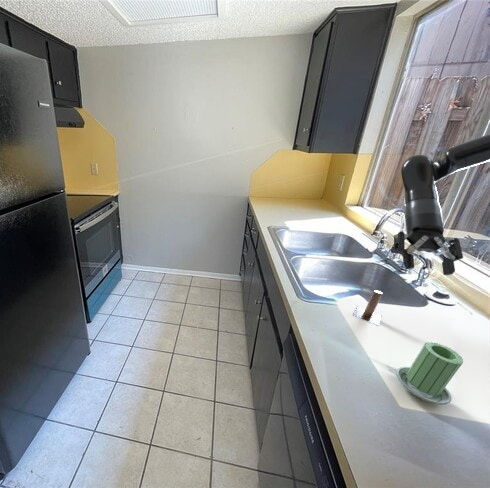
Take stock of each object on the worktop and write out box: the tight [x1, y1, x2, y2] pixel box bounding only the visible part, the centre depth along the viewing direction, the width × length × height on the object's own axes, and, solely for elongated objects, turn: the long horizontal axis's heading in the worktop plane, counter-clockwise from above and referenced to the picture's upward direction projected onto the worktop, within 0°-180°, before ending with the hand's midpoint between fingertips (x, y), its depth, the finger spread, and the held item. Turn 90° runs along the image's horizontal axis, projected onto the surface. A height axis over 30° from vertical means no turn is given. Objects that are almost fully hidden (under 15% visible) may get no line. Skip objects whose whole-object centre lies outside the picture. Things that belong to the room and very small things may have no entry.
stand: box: [352, 289, 383, 327], centre depth 83 cm, size 7×7×11 cm
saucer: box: [395, 366, 452, 405], centre depth 61 cm, size 10×10×2 cm
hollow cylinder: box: [406, 341, 464, 396], centre depth 59 cm, size 6×6×10 cm
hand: (429, 271), depth 69 cm, fingers open, 8 cm apart
